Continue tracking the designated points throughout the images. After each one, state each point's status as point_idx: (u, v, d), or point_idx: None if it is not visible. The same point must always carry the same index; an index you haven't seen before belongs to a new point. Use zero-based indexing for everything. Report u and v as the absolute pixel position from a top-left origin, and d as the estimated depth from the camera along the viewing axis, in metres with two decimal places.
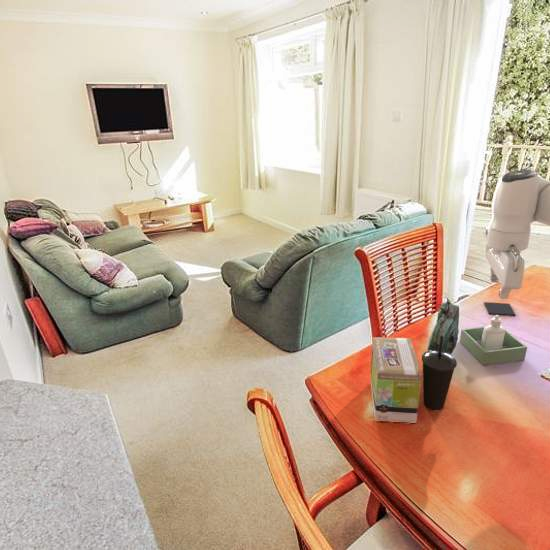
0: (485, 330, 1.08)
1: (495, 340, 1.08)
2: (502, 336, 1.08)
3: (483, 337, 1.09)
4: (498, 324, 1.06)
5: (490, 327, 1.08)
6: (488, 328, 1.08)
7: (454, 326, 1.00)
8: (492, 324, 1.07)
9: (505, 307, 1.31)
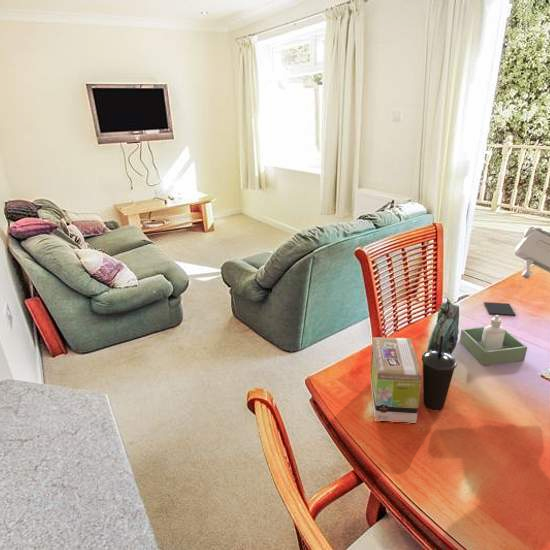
0: (485, 330, 1.08)
1: (495, 340, 1.08)
2: (502, 336, 1.08)
3: (483, 337, 1.09)
4: (498, 324, 1.06)
5: (490, 327, 1.08)
6: (488, 328, 1.08)
7: (454, 326, 1.00)
8: (492, 324, 1.07)
9: (505, 307, 1.31)
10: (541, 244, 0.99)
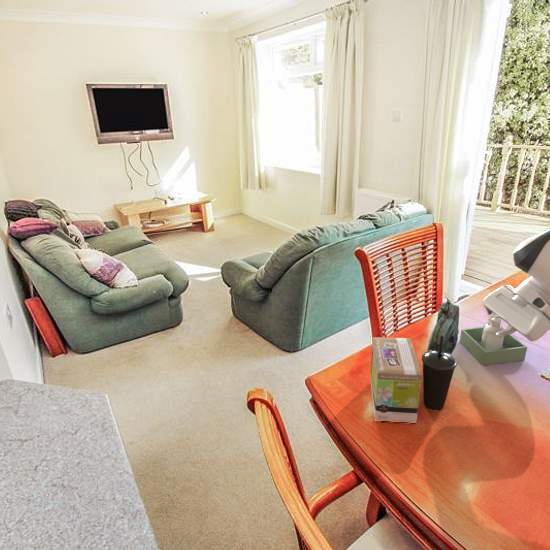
0: (485, 330, 1.08)
1: (495, 340, 1.08)
2: None
3: (483, 337, 1.09)
4: (498, 324, 1.06)
5: (490, 327, 1.08)
6: (488, 328, 1.08)
7: (454, 326, 1.00)
8: (492, 324, 1.07)
9: None
10: (501, 297, 1.11)
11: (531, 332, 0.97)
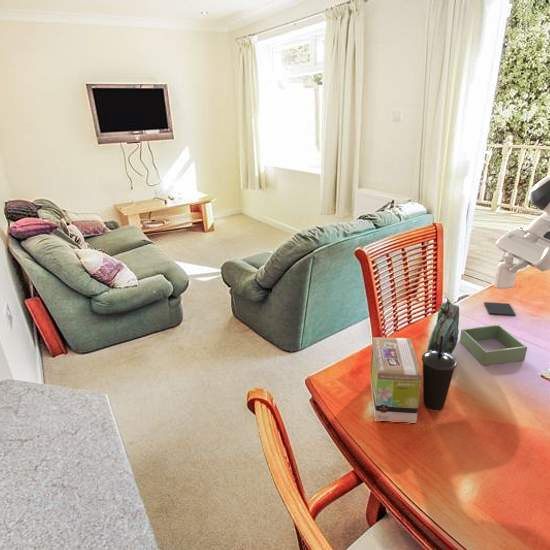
0: (499, 266, 1.17)
1: (508, 275, 1.17)
2: None
3: (497, 273, 1.18)
4: (511, 259, 1.15)
5: (503, 263, 1.17)
6: (502, 264, 1.17)
7: (454, 326, 1.00)
8: (505, 260, 1.16)
9: (505, 307, 1.31)
10: (513, 238, 1.20)
11: (543, 261, 1.06)
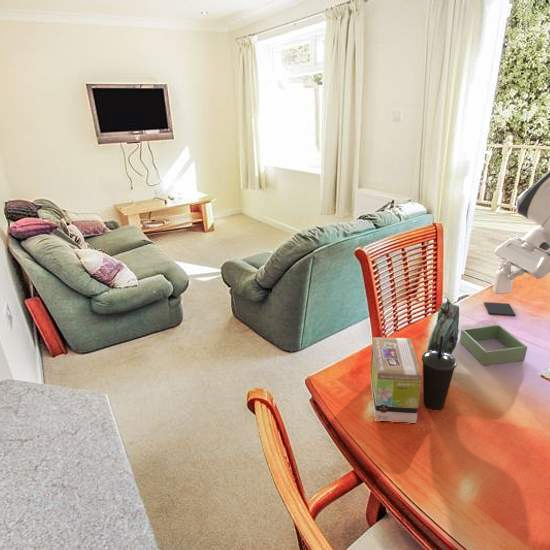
0: (498, 273, 1.26)
1: (506, 282, 1.25)
2: None
3: (496, 280, 1.27)
4: (509, 267, 1.24)
5: (502, 270, 1.25)
6: (500, 271, 1.25)
7: (454, 326, 1.00)
8: (504, 268, 1.25)
9: (505, 307, 1.31)
10: (511, 246, 1.29)
11: (538, 270, 1.15)
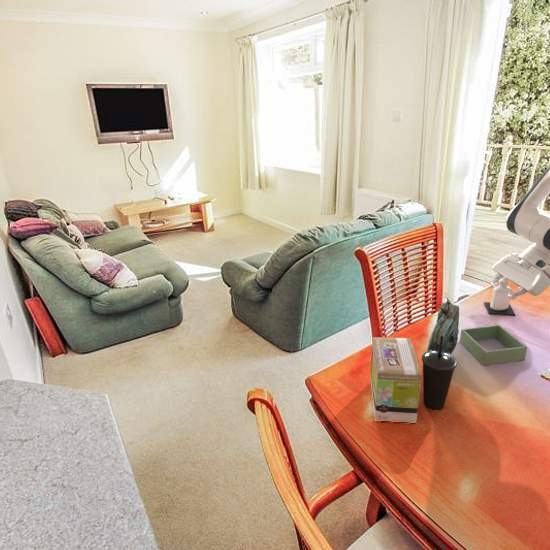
0: (494, 290, 1.28)
1: (503, 298, 1.28)
2: None
3: (493, 296, 1.30)
4: (506, 284, 1.26)
5: (499, 287, 1.28)
6: (497, 288, 1.28)
7: (454, 326, 1.00)
8: (500, 284, 1.27)
9: None
10: (508, 263, 1.31)
11: (534, 287, 1.17)
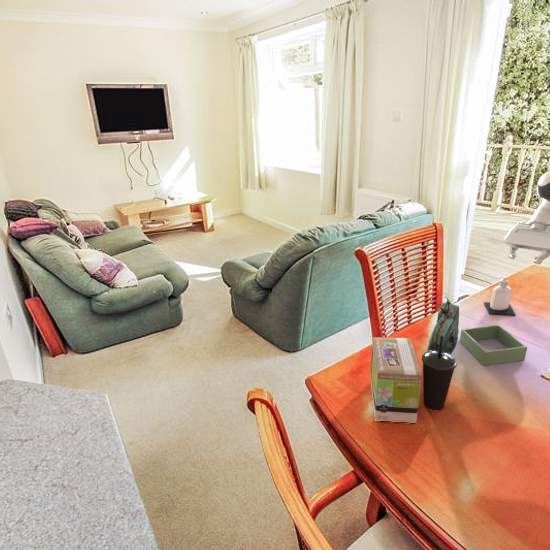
0: (494, 290, 1.28)
1: (503, 298, 1.28)
2: (509, 295, 1.28)
3: (493, 296, 1.30)
4: (506, 284, 1.26)
5: (499, 287, 1.28)
6: (497, 288, 1.28)
7: (454, 326, 1.00)
8: (500, 284, 1.27)
9: None
10: (519, 232, 1.27)
11: None
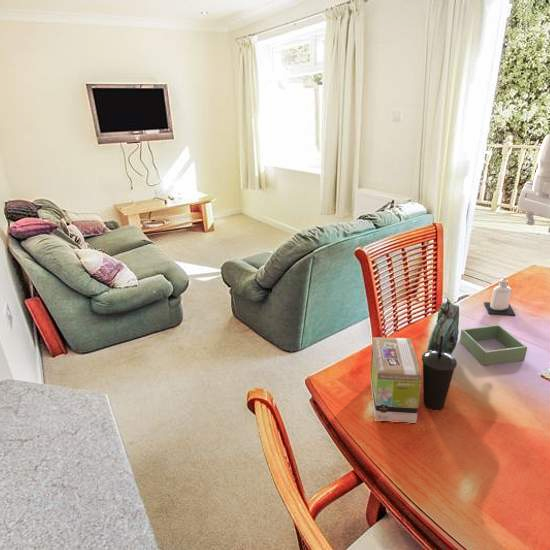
0: (494, 290, 1.28)
1: (503, 298, 1.28)
2: (509, 295, 1.28)
3: (493, 296, 1.30)
4: (506, 284, 1.26)
5: (499, 287, 1.28)
6: (497, 288, 1.28)
7: (454, 326, 1.00)
8: (500, 284, 1.27)
9: None
10: (528, 196, 1.21)
11: None
